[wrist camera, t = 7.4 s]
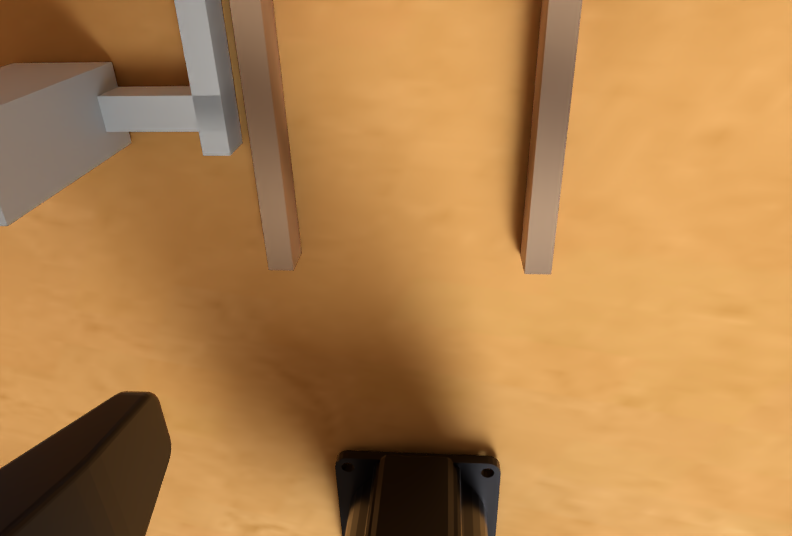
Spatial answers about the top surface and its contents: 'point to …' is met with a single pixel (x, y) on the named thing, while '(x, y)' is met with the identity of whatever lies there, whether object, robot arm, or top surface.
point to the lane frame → (272, 142)
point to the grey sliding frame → (109, 112)
